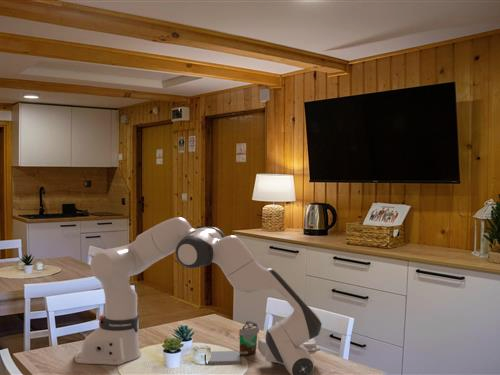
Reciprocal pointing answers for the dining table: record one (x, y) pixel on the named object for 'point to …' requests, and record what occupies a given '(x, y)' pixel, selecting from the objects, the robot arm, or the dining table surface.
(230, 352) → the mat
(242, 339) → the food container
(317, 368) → the dining table surface
